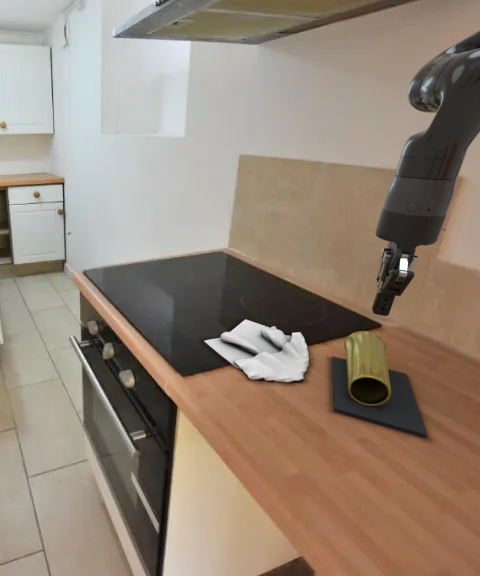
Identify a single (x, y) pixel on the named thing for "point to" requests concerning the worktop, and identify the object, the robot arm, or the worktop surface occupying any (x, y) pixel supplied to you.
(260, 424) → the worktop surface
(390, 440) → the worktop surface
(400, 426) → the mat
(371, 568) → the worktop surface
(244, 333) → the cloth
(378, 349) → the vase
